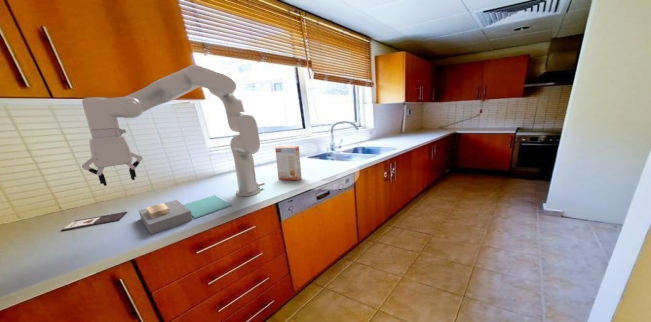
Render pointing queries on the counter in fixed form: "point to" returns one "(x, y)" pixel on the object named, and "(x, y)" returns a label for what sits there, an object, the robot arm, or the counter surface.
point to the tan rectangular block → (158, 210)
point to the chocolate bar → (94, 221)
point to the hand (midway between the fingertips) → (119, 181)
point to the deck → (166, 217)
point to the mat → (206, 206)
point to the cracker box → (288, 162)
